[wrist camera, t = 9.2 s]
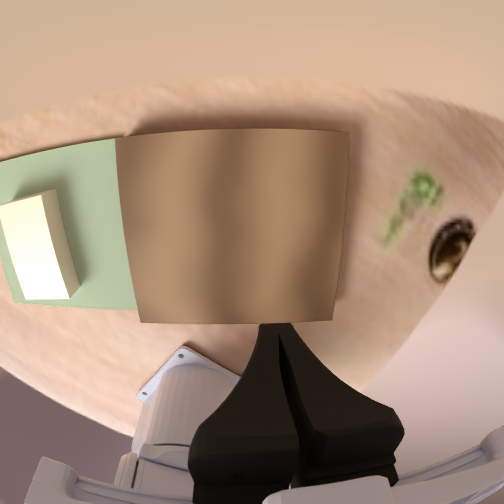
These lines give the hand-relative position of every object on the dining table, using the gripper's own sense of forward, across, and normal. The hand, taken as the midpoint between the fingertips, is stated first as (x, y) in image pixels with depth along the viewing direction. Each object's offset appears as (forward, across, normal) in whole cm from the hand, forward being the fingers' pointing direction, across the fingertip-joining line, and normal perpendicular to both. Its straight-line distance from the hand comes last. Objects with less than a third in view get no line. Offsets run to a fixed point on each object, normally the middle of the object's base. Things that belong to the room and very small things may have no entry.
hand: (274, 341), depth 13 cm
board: (+9, +2, -2) cm, 10 cm away
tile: (+8, +17, -2) cm, 19 cm away
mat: (+9, +16, -2) cm, 19 cm away
